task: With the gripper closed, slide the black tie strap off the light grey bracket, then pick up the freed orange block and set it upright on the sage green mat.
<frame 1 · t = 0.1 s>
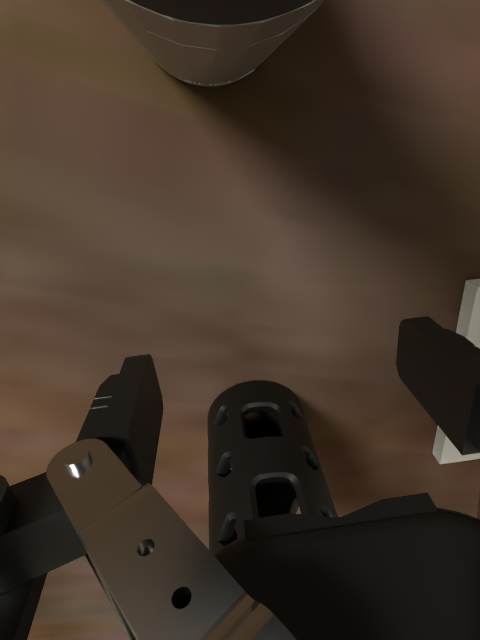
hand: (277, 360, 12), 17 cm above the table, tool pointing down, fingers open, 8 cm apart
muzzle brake: (254, 419, 36), on the table
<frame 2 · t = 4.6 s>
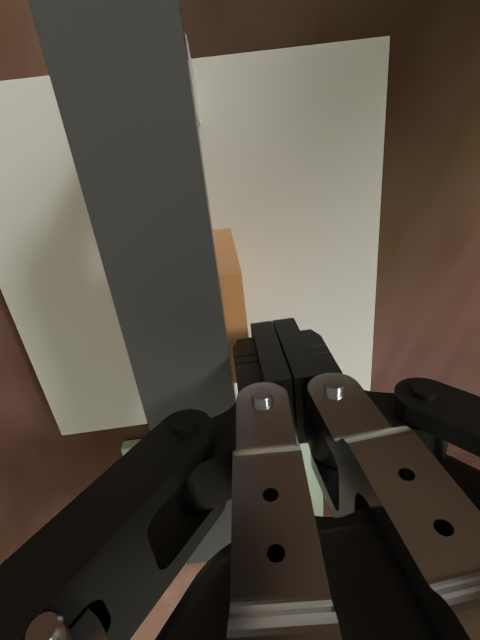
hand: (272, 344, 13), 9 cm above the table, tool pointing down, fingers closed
mat: (230, 477, 29), on the table
tie strap: (184, 357, 13), point 10 cm above the table, slide at 0.0 cm, touching gripper
orange block: (193, 275, 20), point 1 cm above the table, touching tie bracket
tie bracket: (194, 266, 21), on the table
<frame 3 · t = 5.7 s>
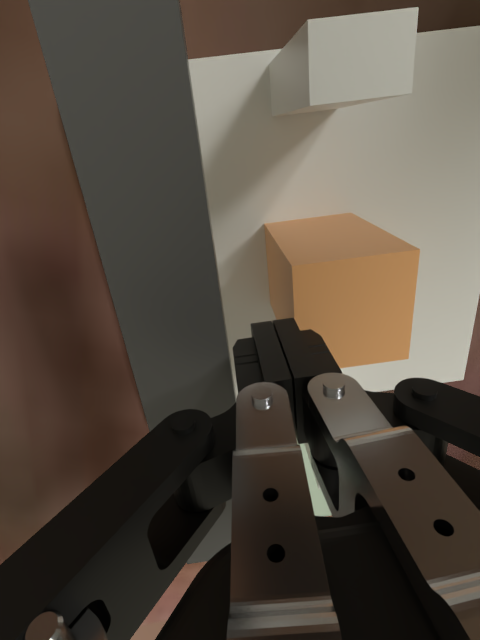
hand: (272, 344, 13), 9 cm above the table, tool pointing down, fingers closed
mat: (310, 465, 29), on the table
tie strap: (184, 357, 13), point 10 cm above the table, slide at 6.3 cm, touching gripper
orange block: (308, 260, 20), point 1 cm above the table, touching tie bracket
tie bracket: (302, 252, 22), on the table
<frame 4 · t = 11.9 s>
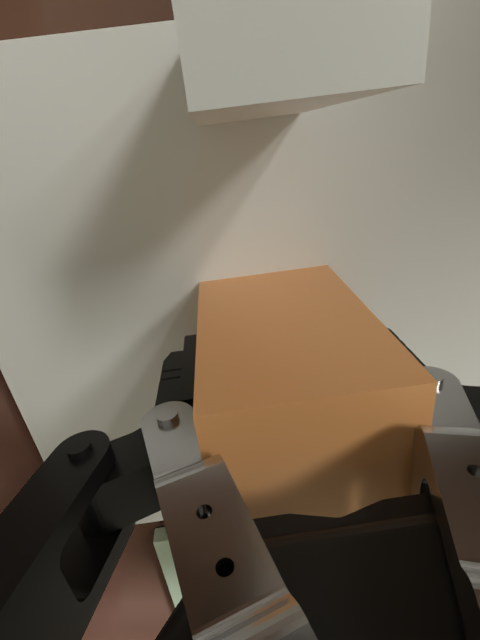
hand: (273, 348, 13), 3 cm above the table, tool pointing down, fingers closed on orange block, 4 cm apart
mat: (286, 564, 23), on the table
orange block: (268, 330, 14), point 2 cm above the table, touching gripper, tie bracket
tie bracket: (263, 313, 15), on the table
when the fingers open (4 cm above the table, at t = 18.4 s): orange block drops 1 cm, resting on mat.
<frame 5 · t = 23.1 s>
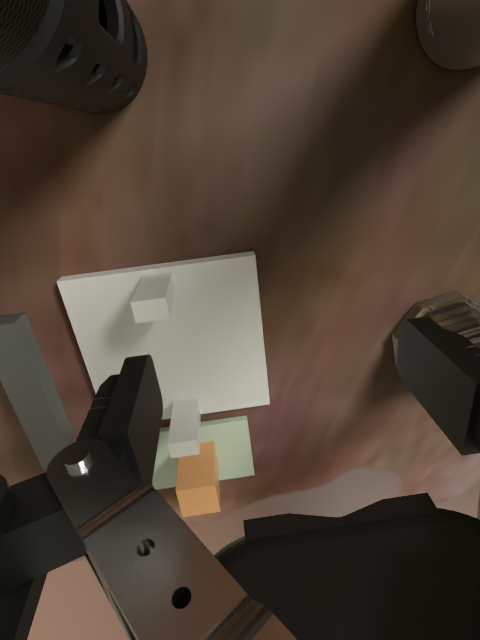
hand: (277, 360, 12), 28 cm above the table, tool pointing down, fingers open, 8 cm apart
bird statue: (428, 321, 45), on the table
mat: (199, 451, 51), on the table
tie strap: (41, 413, 34), point 10 cm above the table, slide at 11.5 cm
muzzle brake: (87, 51, 31), on the table
orange block: (199, 455, 50), point 1 cm above the table, touching mat
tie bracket: (175, 342, 43), on the table
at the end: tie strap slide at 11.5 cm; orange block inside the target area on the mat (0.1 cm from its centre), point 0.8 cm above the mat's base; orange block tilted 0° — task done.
